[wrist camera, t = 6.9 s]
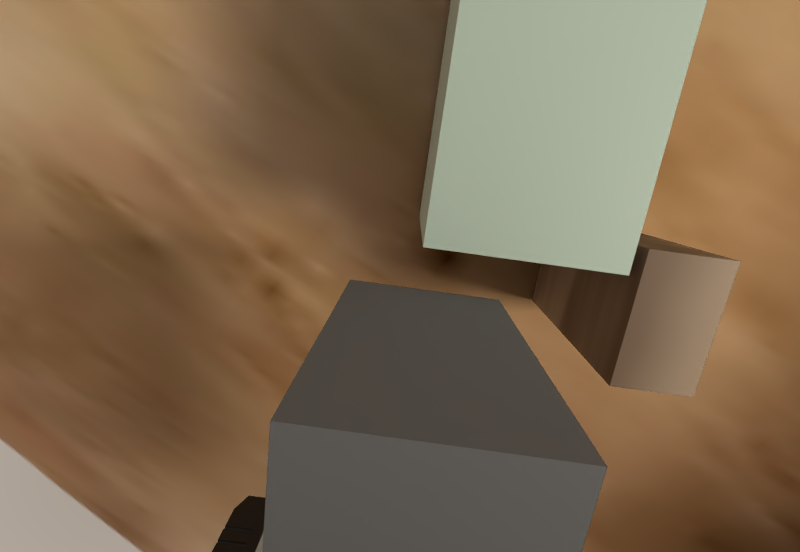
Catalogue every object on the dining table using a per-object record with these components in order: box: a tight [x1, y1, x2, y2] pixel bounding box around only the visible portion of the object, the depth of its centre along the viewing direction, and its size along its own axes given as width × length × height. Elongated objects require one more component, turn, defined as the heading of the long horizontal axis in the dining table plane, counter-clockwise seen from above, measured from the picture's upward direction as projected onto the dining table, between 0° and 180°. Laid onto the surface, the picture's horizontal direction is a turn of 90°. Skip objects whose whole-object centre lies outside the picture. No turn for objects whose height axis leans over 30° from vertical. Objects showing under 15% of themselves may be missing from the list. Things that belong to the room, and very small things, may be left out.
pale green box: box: [419, 0, 707, 276], centre depth 17 cm, size 8×15×10 cm, turn 172°
